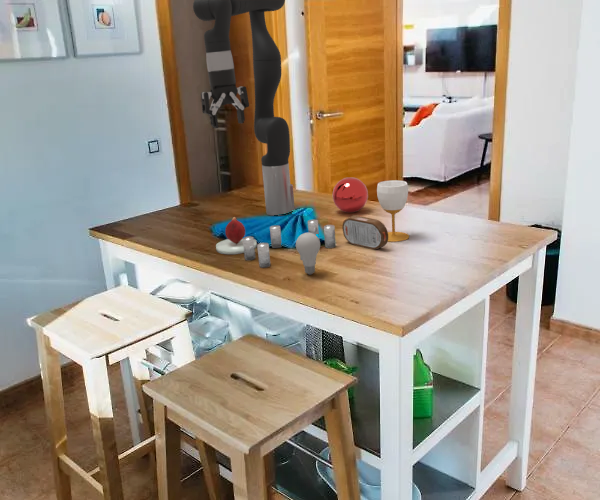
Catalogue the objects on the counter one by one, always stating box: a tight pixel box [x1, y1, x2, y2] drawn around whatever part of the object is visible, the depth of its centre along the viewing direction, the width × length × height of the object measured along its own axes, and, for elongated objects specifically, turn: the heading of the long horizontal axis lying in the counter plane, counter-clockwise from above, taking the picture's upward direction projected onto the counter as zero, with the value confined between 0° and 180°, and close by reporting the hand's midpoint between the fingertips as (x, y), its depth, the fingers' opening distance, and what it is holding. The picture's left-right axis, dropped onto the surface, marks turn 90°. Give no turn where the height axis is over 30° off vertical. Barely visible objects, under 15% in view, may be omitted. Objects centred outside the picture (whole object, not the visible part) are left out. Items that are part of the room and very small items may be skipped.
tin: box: [342, 214, 389, 250], centre depth 169 cm, size 15×3×8 cm, turn 44°
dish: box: [215, 238, 258, 255], centre depth 177 cm, size 12×12×1 cm
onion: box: [224, 216, 246, 244], centre depth 176 cm, size 6×6×8 cm
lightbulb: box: [295, 232, 321, 276], centre depth 151 cm, size 6×6×11 cm
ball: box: [331, 177, 369, 214], centre depth 203 cm, size 12×12×12 cm
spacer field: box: [243, 219, 337, 268], centre depth 169 cm, size 25×18×6 cm
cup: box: [376, 179, 410, 243], centre depth 174 cm, size 9×9×16 cm
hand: (228, 125), depth 177 cm, fingers open, 8 cm apart
